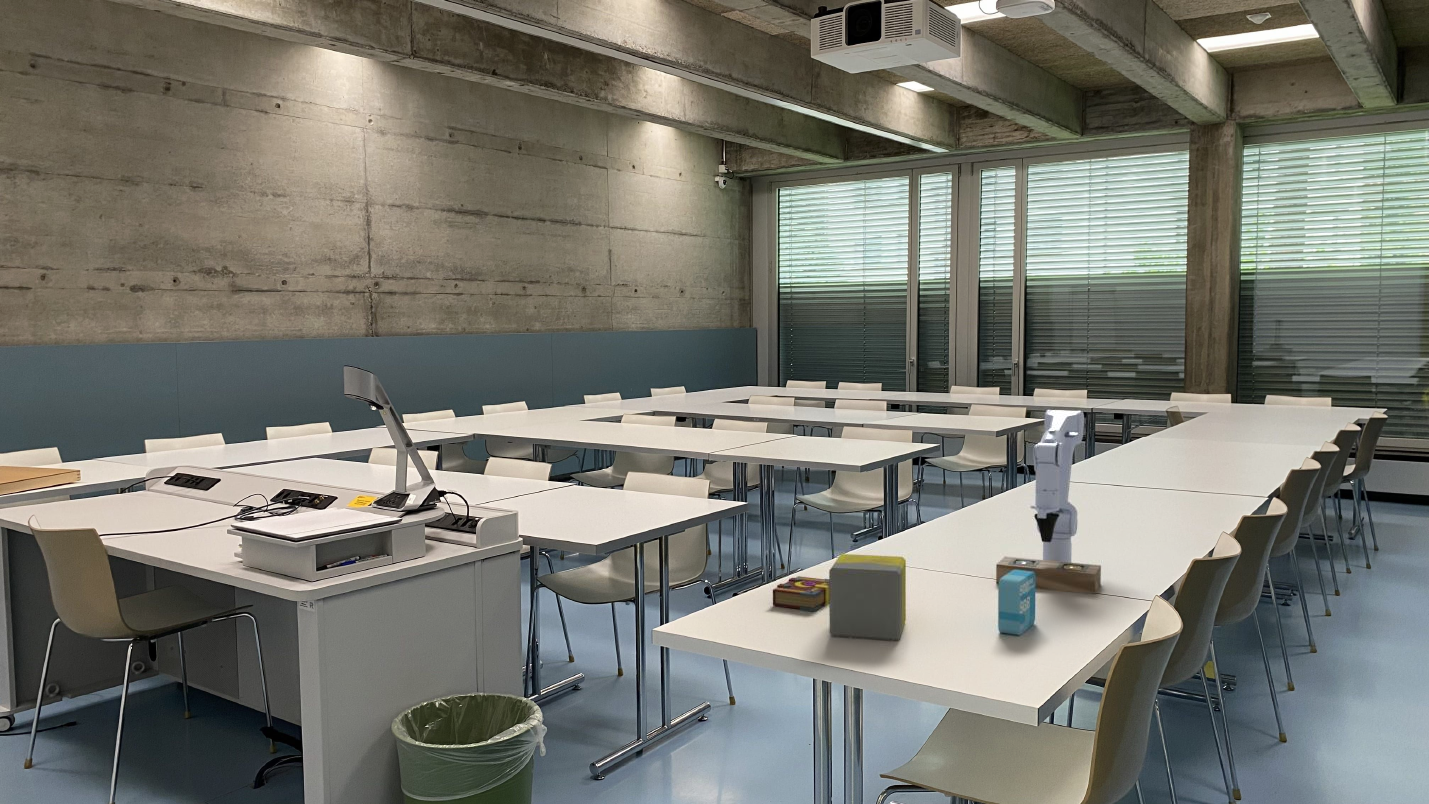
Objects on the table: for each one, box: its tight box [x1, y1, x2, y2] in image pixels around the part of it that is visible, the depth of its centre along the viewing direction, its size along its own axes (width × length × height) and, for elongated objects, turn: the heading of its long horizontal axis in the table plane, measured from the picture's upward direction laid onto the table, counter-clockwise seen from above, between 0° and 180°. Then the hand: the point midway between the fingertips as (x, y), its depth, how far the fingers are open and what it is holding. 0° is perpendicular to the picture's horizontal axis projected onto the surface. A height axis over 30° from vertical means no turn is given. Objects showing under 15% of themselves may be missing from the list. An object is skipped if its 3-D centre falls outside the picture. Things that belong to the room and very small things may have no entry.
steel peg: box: [1016, 561, 1033, 565], centre depth 261 cm, size 4×4×4 cm
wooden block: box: [995, 556, 1102, 595], centre depth 258 cm, size 10×24×5 cm, turn 61°
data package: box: [997, 570, 1036, 636], centre depth 220 cm, size 12×4×12 cm, turn 146°
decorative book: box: [772, 575, 829, 613], centre depth 245 cm, size 11×16×5 cm
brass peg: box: [1064, 565, 1082, 570], centre depth 255 cm, size 4×4×4 cm
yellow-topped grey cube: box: [828, 553, 907, 642], centre depth 226 cm, size 15×24×15 cm, turn 164°
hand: (1046, 541), depth 260 cm, fingers closed
